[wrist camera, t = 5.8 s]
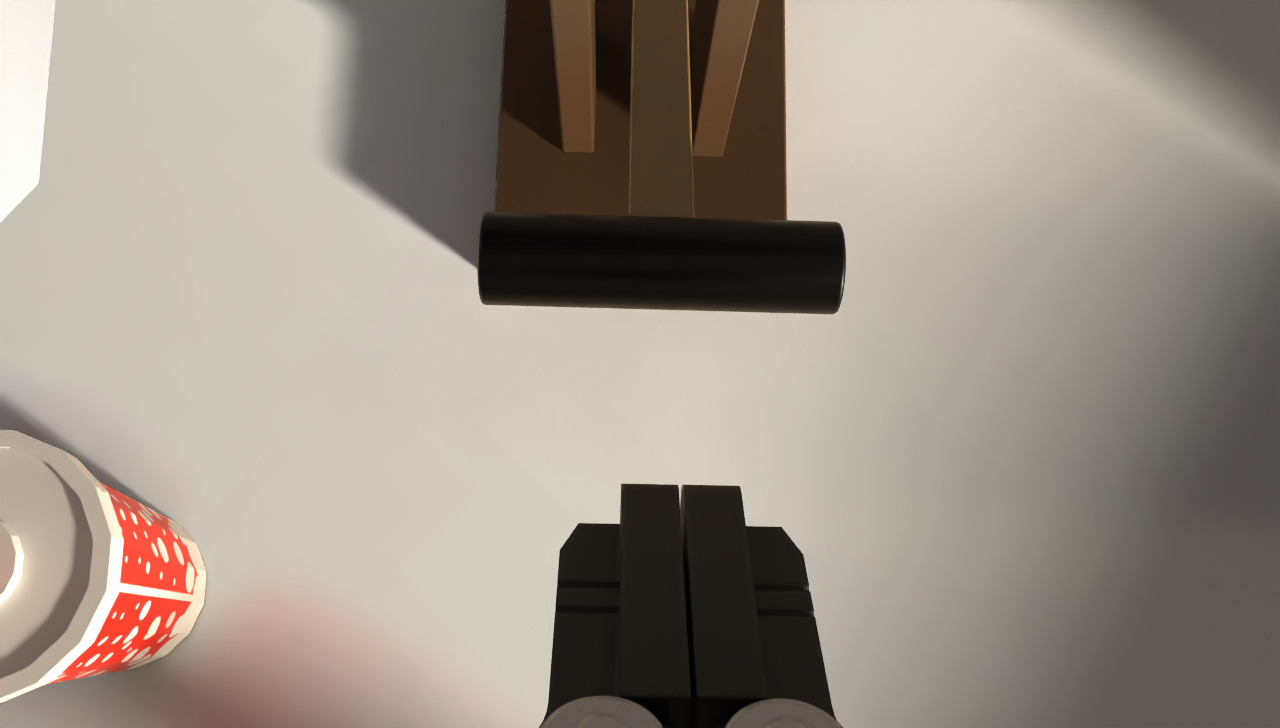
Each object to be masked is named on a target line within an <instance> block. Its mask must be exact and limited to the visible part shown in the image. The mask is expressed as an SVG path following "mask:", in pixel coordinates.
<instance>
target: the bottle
mask: <svg viewBox="0 0 1280 728" xmlns="http://www.w3.org/2000/svg"><path fill="white" fill-rule="evenodd" d="M54 10H55V0H0V222H1V221H2V220H3V219H4V218H5V217H6V216H7V215H8V214H9V213H10V212H11V211H12V210H13V209H14V208H15V207H16V206H17V205H18V204H19V203H20V202H21V201H22V200H23V199H24V198H25V197H26V196H27V195H28V194H29V193H30V192H31V191H32V190H33V189H34V188H35V187H36V186H37V185H38V183H39V172H40V162H41V151H42V140H43V129H44V118H45V107H46V97H47V86H48V75H49V64H50V53H51V43H52V32H53V21H54Z"/></svg>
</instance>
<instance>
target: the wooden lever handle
mask: <svg viewBox="0 0 1280 728" xmlns="http://www.w3.org/2000/svg"><path fill="white" fill-rule="evenodd" d="M845 271H846V248H845V238H844V233H843V230H842V227H841V225H840V224H839V223H837V222H824V221H790V220H756V219H722V218H694V192H693V159H692V125H691V92H690V58H689V25H688V0H632V41H631V99H630V158H629V216H619V215H585V214H551V213H517V212H485V213H484V214H483V216H482V218H481V222H480V229H479V240H478V287H479V295H480V299H481V302H482V303H483V304H485V305H515V306H551V307H587V308H624V309H660V310H697V311H733V312H769V313H806V314H834V313H836V312H837V311H838V309H839V306H840V304H841V301H842V296H843V291H844V283H845Z"/></svg>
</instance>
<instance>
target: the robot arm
mask: <svg viewBox="0 0 1280 728" xmlns="http://www.w3.org/2000/svg"><path fill="white" fill-rule="evenodd" d="M539 728H843V727H842V726H841V725H840V723H839V722H838V721H837V720H836V717H835V715H834V712H833V708H832V704H831V699H830V694H829V688H828V683H827V678H826V672H825V667H824V662H823V657H822V651H821V646H820V641H819V636H818V630H817V625H816V620H815V617H814V609H813V604H812V599H811V593H810V592H809V583H808V578H807V572H806V567H805V562H804V557H803V554H802V553H801V551H800V550H799V549H798V548H797V546H796V545H795V544H794V542H793V541H792V540H791V539H790V537H789V536H788V535H787V534H786V532H785V531H784V530H783V529H782V527H753V526H746V525H745V517H744V510H743V502H742V494H741V489H740V486H716V485H682V491H681V503H679V488H678V485H656V484H621V509H620V524H589V523H579V524H578V525H577V527H576V528H575V529H574V531H573V532H572V534H571V535H570V537H569V538H568V539H567V541H566V542H565V544H564V545H563V547H562V548H561V549H560V556H559V569H558V585H557V596H556V612H555V622H554V635H553V649H552V662H551V675H550V689H549V702H548V708H547V712H546V715H545V718H544V720H543V722H542V724H541V725H540V727H539Z"/></svg>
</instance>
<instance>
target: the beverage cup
mask: <svg viewBox="0 0 1280 728" xmlns="http://www.w3.org/2000/svg"><path fill="white" fill-rule="evenodd" d="M205 585H206V570H205V567H204V564H203V561H202V558H201V555H200V552H199V549H198V546H197V544H196V543H195V542H194V541H193V540H192V538H191V537H190V536H189V535H188V534H187V533H186V532H185V531H184V530H183V529H182V528H181V527H180V526H179V525H178V524H177V523H176V522H174V521H173V520H171V519H169V518H167V517H165V516H163V515H161V514H159V513H158V512H156V511H154V510H152V509H150V508H148V507H146V506H144V505H142V504H141V503H139V502H137V501H135V500H133V499H131V498H129V497H127V496H126V495H124V494H122V493H120V492H118V491H116V490H114V489H112V488H111V487H109V486H107V485H105V484H103V483H101V482H99V481H98V480H97V479H96V478H95V477H94V476H93V475H92V474H91V473H90V472H89V471H88V470H87V469H86V467H85V466H84V465H83V464H82V463H81V462H80V461H79V460H78V459H77V458H76V457H75V456H73V455H71V454H68V453H67V452H66V451H64V450H61V449H59V448H56V447H54V446H52V445H49V444H47V443H44V442H42V441H40V440H37V439H35V438H32V437H30V436H28V435H25V434H23V433H20V432H18V431H15V430H0V703H2V702H4V701H6V700H9V699H11V698H14V697H16V696H18V695H21V694H23V693H26V692H28V691H30V690H33V689H35V688H38V687H40V686H42V685H45V684H48V683H54V682H60V681H65V680H71V679H77V678H83V677H88V676H94V675H100V674H106V673H111V672H117V671H123V670H129V669H134V668H138V667H140V666H142V665H145V664H147V663H150V662H152V661H154V660H157V659H159V658H162V657H164V656H166V655H167V654H168V653H169V652H170V651H171V650H172V649H174V648H175V647H176V646H177V645H178V644H179V643H180V642H181V641H182V640H183V639H184V638H185V637H186V636H187V635H188V634H189V633H190V632H191V630H192V628H193V626H194V624H195V621H196V619H197V617H198V615H199V613H200V611H201V609H202V607H203V605H204V599H205Z"/></svg>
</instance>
